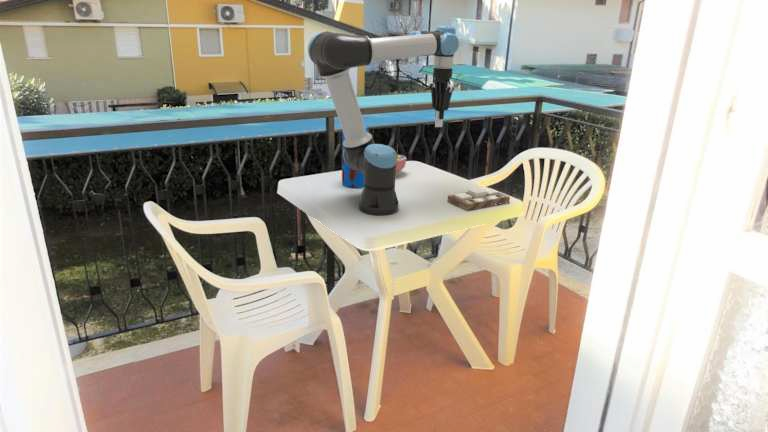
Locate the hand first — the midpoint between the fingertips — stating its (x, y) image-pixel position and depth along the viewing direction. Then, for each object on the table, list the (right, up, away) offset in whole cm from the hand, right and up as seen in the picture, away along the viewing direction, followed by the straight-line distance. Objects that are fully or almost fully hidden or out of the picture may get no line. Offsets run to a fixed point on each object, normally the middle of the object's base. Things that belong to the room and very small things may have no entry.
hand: (438, 126), depth 217 cm
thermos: (-35, -24, +9) cm, 43 cm away
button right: (+20, -29, -2) cm, 35 cm away
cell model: (-22, -18, +26) cm, 38 cm away
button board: (+15, -31, -6) cm, 35 cm away
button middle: (+15, -29, -6) cm, 33 cm away
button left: (+8, -31, -9) cm, 33 cm away
